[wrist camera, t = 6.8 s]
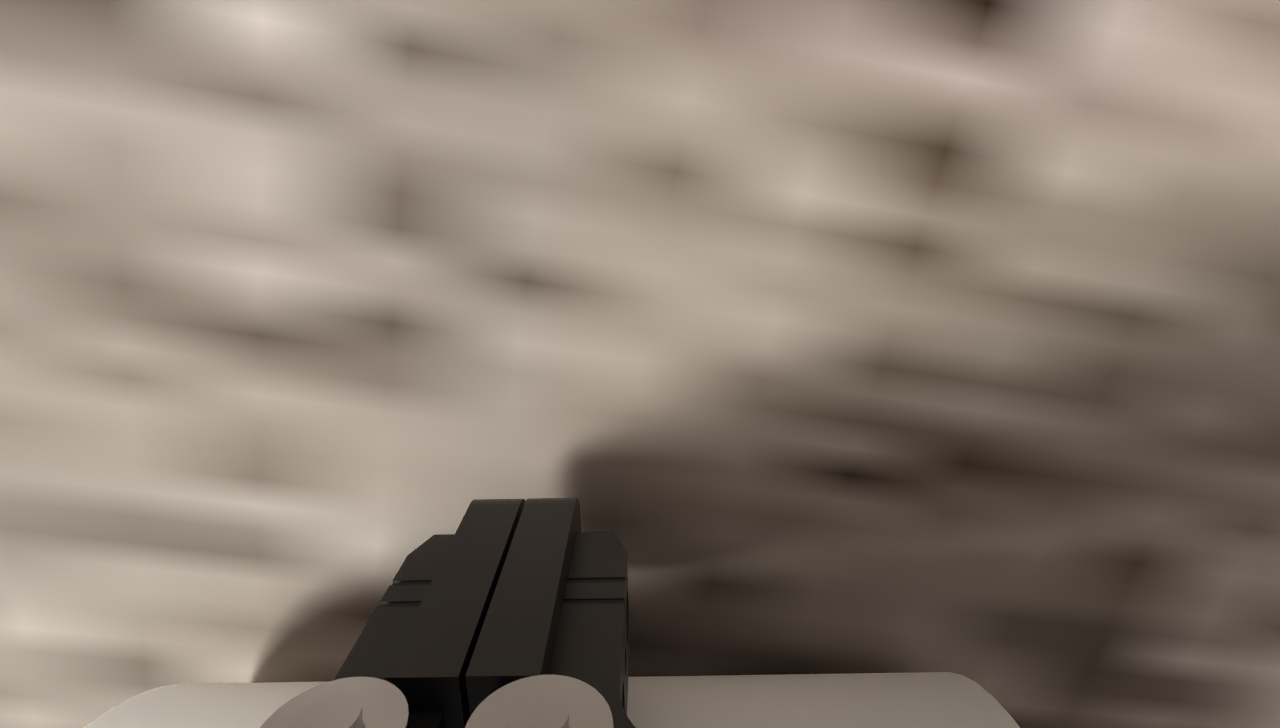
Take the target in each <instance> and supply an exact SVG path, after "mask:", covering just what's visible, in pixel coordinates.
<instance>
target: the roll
mask: <svg viewBox="0 0 1280 728" xmlns="http://www.w3.org/2000/svg"><path fill="white" fill-rule="evenodd" d="M323 683H326V682H264V683H199V684H174V685H168V686H162V687H157V688H154V689H151V690H148V691H146V692H143V693H140V694H137V695H135V696H133V697H131V698H129V699H127V700H125V701H123V702H121V703H120V704H118V705H116V706H114V707H112V708H110V709H108V710H107V711H106V712H104V713H103V714H101V715H100V716H98V717H97V718H96V719H94V720H93V721H91V722H90V723H89V724H87V725H86V726H84V727H83V728H260V727H261V726H262V725H263V723H264V722H265V721H266V720H267V719H268V718H269V717H270V716H271V715H272V714H273V713H274V712H275V711H276V710H277V709H279V708H280V707H281V706H282V705H284V704H285V703H287V702H288V701H289V700H291V699H292V698H294V697H296V696H297V695H299V694H301V693H302V692H305V691H307V690H309V689H311V688H313V687H315V686H318V685H321V684H323ZM627 717H628V718H629V719H630V721H631V722H632V724H633V725H634V726H635V727H636V728H1020V727H1019V726H1018V724H1017V723H1016V722H1015V720H1014V719H1013V718H1012V716H1011V715H1010V714H1009V713H1008V712H1007V711H1006V710H1005V709H1004V708H1003V707H1002V705H1001V704H1000V703H999V702H998V701H997V700H996V699H995V698H994V697H993V696H992V695H991V694H990V693H988V692H987V691H986V690H985V689H984V688H983V687H981V686H980V685H979V684H978V683H976V682H974V681H973V680H971V679H969V678H967V677H965V676H964V675H961V674H956V673H952V672H915V673H850V674H785V675H720V676H655V677H628V705H627Z"/></svg>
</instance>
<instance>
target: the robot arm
mask: <svg viewBox="0 0 1280 728" xmlns="http://www.w3.org/2000/svg"><path fill="white" fill-rule="evenodd" d="M380 602H381V604H380V607H377V608H376V610H375V612H374V613H373V615H372V617H371V618H370V620H369V622H368V624H367V625H366V627H365V629H364V630H363V632H362V634H361V635H360V637H359V639H358V640H357V642H356V644H355V646H354V647H353V649H352V651H351V652H350V654H349V656H348V657H347V659H346V661H345V663H344V664H343V666H342V668H341V669H340V671H339V673H338V674H337V676H336V678H335V679H334V680H333V681H329V682H326V683H323V684H321V685H318V686H315V687H313V688H311V689H309V690H307V691H305V692H302V693H301V694H299V695H297V696H296V697H294V698H292V699H291V700H289V701H288V702H287V703H285V704H284V705H282V706H281V707H280V708H279V709H277V710H276V711H275V712H274V713H273V714H272V715H271V716H270V717H269V718H268V719H267V720H266V721H265V722H264V723H263V725H262V726H261V727H260V728H636V727H635V726H634V725H633V724H632V722H631V721H630V719H629V718H628V717H627V705H628V672H629V649H630V638H629V607H628V576H627V552H626V551H625V549H624V548H623V546H622V545H621V543H620V542H619V540H618V539H617V537H616V536H615V534H614V533H613V532H582V533H581V517H580V505H579V500H578V498H542V499H527V500H526V501H525V499H487V500H473V501H472V502H471V504H470V505H469V507H468V509H467V511H466V513H465V515H464V517H463V519H462V521H461V523H460V525H459V527H458V529H457V531H456V533H455V535H433V536H432V537H431V538H430V539H428V540H427V541H426V542H424V543H423V544H422V545H421V546H419V547H418V548H417V549H415V550H414V551H413V552H412V553H410V554H409V555H408V556H407V557H406V559H405V561H404V562H403V564H402V566H401V568H400V569H399V571H398V573H397V574H396V576H395V578H394V579H393V585H390V586H389V588H388V590H387V591H386V593H385V595H384V596H383V598H382V600H381V601H380Z"/></svg>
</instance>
